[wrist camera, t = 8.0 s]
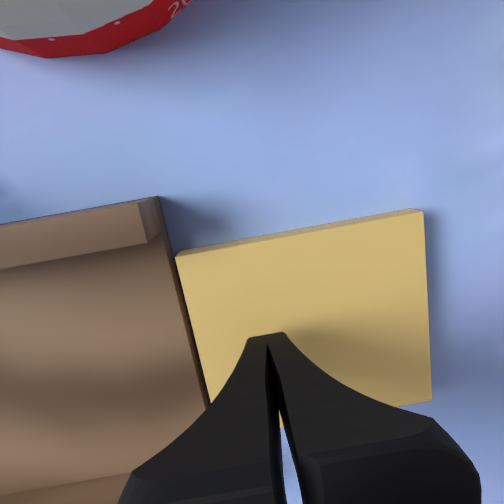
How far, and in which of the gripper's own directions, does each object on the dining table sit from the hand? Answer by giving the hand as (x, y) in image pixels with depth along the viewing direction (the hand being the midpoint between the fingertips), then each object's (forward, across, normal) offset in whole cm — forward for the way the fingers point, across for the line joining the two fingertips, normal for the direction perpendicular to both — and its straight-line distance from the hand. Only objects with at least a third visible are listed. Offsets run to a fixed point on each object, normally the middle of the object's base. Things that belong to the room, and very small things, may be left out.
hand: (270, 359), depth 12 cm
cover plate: (+3, -2, 0) cm, 3 cm away
